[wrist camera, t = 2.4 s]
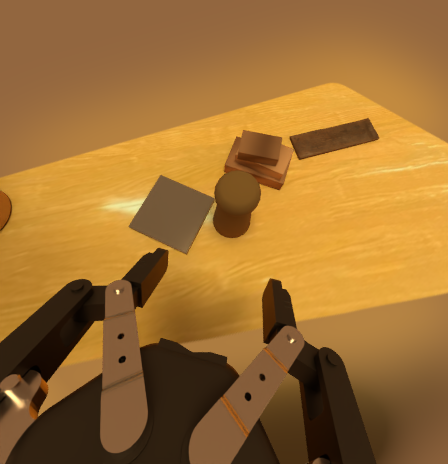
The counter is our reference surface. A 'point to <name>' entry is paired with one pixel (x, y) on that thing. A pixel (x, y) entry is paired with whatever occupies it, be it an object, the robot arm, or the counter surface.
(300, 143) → the wooden plank
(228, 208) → the cork
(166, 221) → the slate coaster
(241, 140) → the offcut stack
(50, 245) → the counter surface
